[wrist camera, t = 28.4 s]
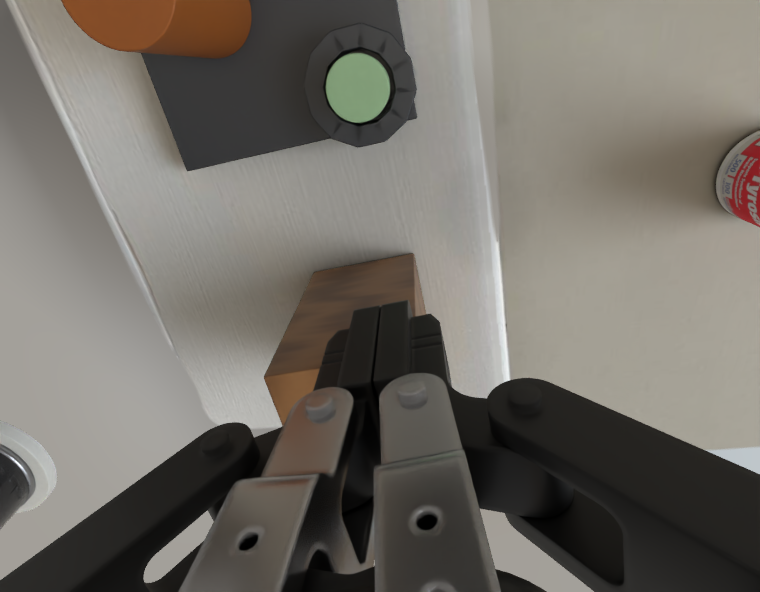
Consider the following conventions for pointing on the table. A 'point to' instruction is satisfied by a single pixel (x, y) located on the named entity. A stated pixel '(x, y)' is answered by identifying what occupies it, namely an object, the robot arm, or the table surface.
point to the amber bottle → (165, 25)
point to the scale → (283, 82)
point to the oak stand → (334, 320)
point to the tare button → (357, 87)
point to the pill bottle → (741, 180)
